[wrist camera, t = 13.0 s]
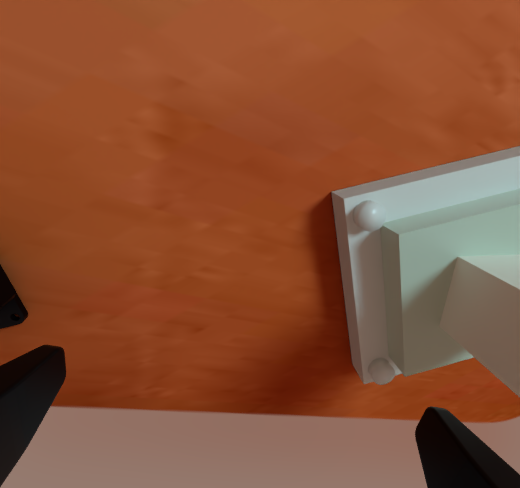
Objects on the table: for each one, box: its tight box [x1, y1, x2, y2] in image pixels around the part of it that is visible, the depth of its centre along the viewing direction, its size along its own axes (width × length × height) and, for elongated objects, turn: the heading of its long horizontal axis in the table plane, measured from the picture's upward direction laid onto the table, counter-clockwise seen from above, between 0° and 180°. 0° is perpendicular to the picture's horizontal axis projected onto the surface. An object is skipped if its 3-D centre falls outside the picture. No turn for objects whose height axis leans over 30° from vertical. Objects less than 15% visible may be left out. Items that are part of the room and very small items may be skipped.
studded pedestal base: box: [331, 146, 520, 385], centre depth 20 cm, size 14×14×4 cm
